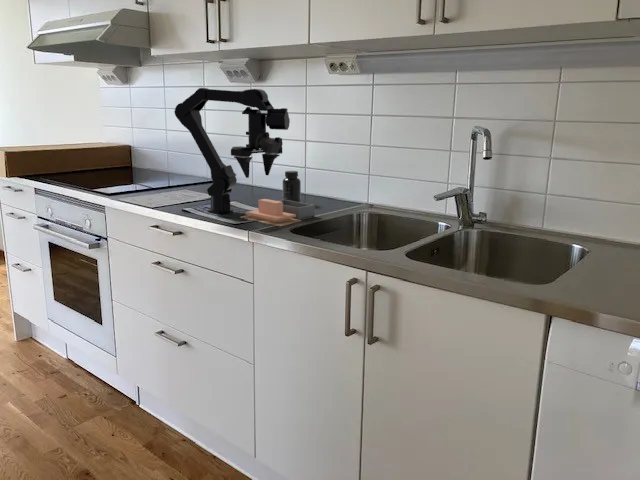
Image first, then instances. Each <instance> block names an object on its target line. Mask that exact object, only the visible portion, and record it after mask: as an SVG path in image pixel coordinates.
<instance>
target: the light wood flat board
mask: <svg viewBox="0 0 640 480" xmlns="http://www.w3.org/2000/svg"><path fill="white" fill-rule="evenodd" d="M239 217H240V219H243V218H244V220H248V221H253V222H257V221H258V222H259V223H263V224H267V225H273V226H276V225H277V227H284V226H288V225H289V226H290V225H293V224H297V223H300V222H302V220H303V219H302V220H298V219H293V218H290V220H288V221H283V222H279V223H276V222H272V221H267V220H262V219H257V218H252V217H251V215H247V214H245V215H242V216H239Z"/></svg>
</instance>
